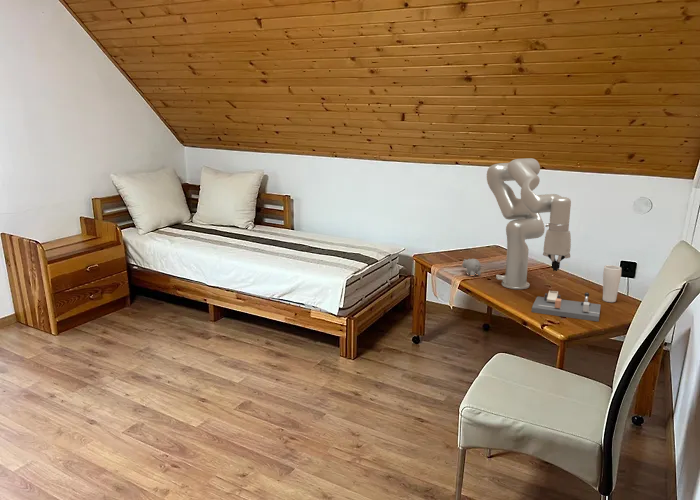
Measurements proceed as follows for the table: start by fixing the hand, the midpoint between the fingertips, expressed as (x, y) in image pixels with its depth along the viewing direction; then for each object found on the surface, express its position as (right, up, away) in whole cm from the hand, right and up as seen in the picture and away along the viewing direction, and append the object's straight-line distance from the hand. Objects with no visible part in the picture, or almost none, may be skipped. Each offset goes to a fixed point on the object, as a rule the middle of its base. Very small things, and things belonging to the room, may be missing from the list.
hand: (555, 270), depth 226 cm
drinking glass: (+25, -13, +6) cm, 29 cm away
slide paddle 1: (-2, -14, -7) cm, 16 cm away
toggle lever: (+11, -14, -5) cm, 18 cm away
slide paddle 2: (+8, -15, -12) cm, 21 cm away
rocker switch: (-1, -11, 0) cm, 11 cm away
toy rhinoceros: (-25, -4, +47) cm, 53 cm away
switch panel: (+3, -16, -5) cm, 17 cm away
